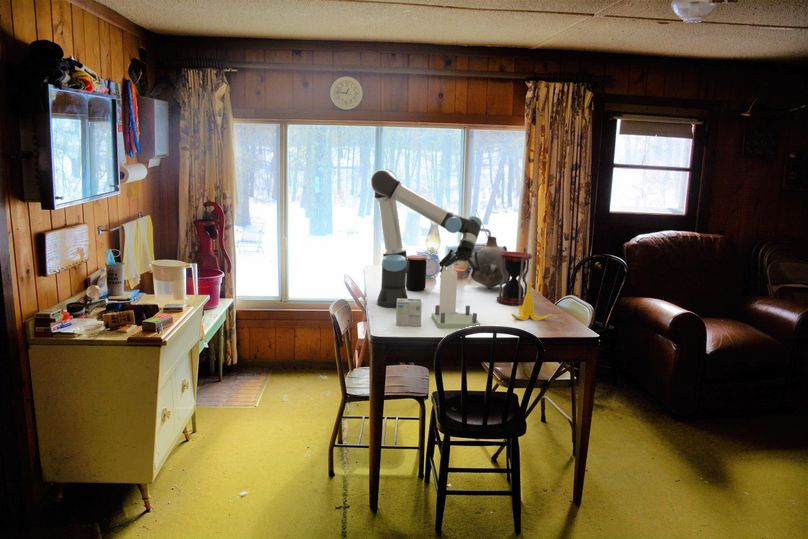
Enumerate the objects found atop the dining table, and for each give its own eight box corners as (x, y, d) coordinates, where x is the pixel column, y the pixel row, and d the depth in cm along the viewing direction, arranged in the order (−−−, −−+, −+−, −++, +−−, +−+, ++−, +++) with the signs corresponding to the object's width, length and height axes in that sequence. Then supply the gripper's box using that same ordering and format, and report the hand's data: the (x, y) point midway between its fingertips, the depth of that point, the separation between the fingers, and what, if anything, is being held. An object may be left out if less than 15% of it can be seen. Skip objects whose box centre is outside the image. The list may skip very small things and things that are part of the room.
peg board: (438, 328, 269) (438, 314, 268) (431, 317, 287) (432, 304, 286) (480, 328, 271) (480, 314, 270) (470, 317, 289) (471, 304, 288)
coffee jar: (425, 288, 351) (427, 255, 348) (424, 292, 341) (426, 258, 338) (406, 286, 352) (407, 254, 349) (404, 290, 342) (406, 257, 339)
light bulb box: (420, 322, 277) (421, 298, 275) (421, 326, 271) (422, 302, 269) (395, 321, 277) (396, 297, 275) (396, 326, 270) (397, 301, 268)
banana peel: (510, 321, 287) (512, 284, 284) (518, 312, 304) (521, 277, 301) (547, 326, 281) (550, 288, 278) (553, 316, 298) (556, 281, 295)
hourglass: (491, 299, 330) (494, 251, 326) (519, 298, 335) (522, 251, 330) (505, 306, 315) (508, 256, 310) (534, 305, 320) (538, 256, 315)
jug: (518, 292, 350) (522, 237, 345) (483, 293, 343) (487, 238, 337) (495, 283, 373) (499, 232, 368) (463, 284, 365) (466, 232, 360)
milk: (438, 312, 296) (440, 266, 292) (443, 310, 302) (445, 264, 298) (450, 314, 294) (453, 267, 290) (455, 311, 299) (457, 265, 295)
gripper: (493, 251, 307) (481, 287, 296) (444, 246, 317) (432, 281, 306) (490, 242, 301) (478, 278, 290) (441, 237, 311) (428, 272, 300)
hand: (454, 280), depth 298 cm, fingers open, 13 cm apart
